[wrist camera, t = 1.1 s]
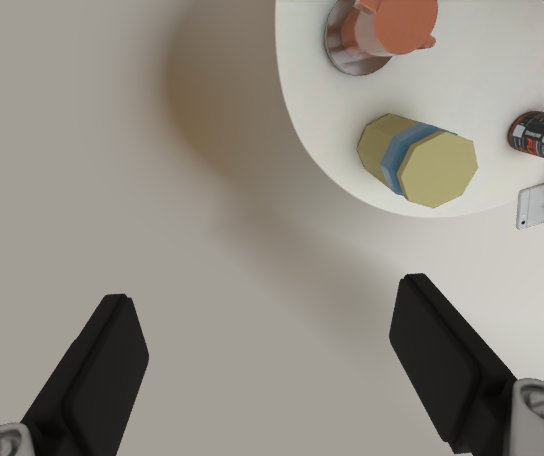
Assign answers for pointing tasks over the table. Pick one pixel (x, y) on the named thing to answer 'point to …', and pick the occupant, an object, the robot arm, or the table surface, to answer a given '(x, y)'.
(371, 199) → the table surface
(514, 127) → the supplement bottle
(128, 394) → the robot arm
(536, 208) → the cell phone
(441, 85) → the table surface
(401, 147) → the jar
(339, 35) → the jug
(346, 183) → the table surface
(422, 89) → the table surface
